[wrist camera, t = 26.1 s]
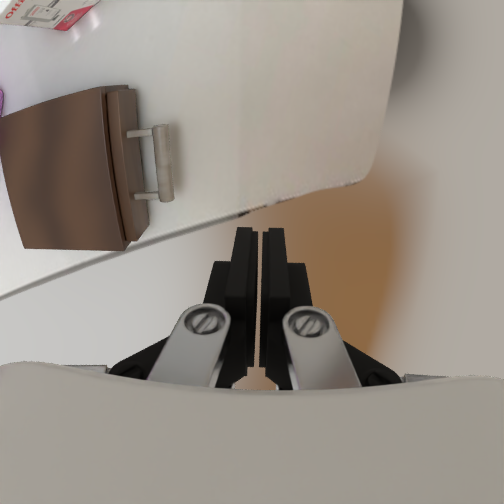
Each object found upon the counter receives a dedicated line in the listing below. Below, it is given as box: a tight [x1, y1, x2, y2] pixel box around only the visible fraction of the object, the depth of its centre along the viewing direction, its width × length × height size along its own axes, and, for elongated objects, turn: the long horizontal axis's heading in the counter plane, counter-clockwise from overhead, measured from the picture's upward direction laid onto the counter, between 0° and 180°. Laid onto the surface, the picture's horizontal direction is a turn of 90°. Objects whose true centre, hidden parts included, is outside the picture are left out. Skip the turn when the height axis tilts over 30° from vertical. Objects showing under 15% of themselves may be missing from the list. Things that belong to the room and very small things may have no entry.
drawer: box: [106, 89, 174, 241], centre depth 26 cm, size 17×14×4 cm
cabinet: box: [0, 85, 131, 251], centre depth 26 cm, size 15×16×6 cm
